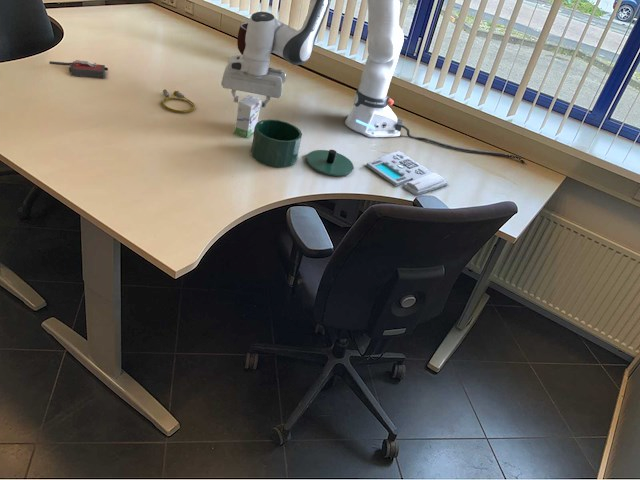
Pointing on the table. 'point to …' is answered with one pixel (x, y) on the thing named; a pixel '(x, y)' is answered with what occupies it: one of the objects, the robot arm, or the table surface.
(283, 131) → the tin
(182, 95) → the extension cord
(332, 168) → the tin lid
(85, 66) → the walkie-talkie
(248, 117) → the ink box
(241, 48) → the mate gourd
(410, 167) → the office telephone
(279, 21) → the robot arm
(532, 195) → the table surface
